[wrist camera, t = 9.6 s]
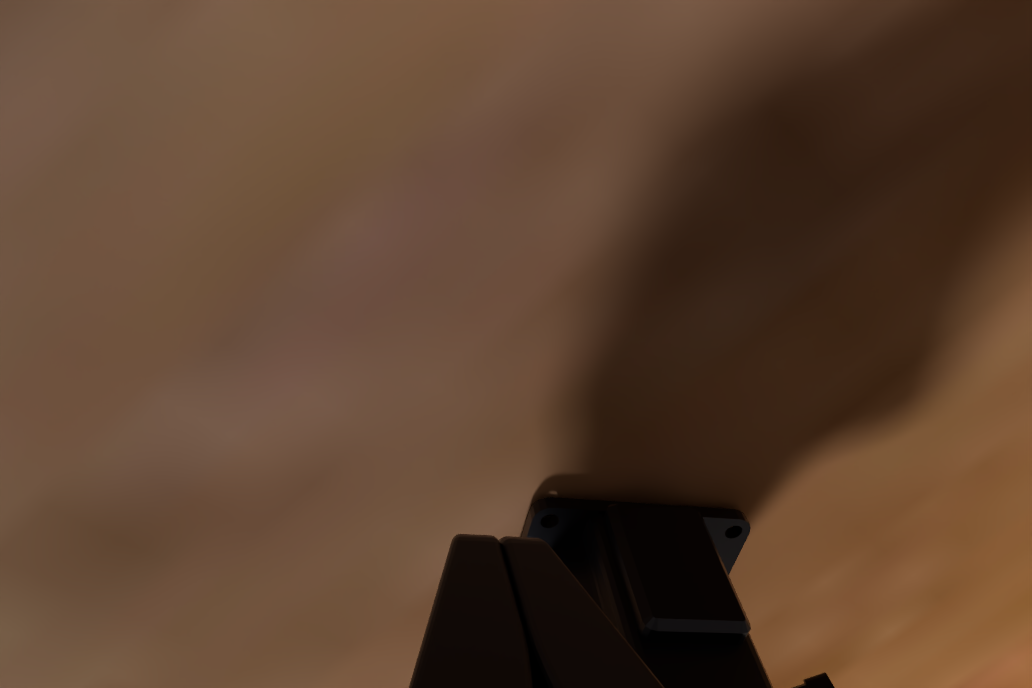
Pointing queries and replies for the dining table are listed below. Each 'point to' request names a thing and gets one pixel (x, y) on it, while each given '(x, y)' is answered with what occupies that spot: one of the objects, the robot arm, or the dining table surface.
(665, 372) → the dining table surface
